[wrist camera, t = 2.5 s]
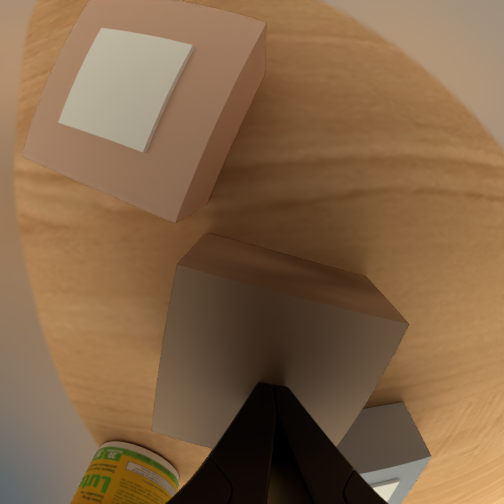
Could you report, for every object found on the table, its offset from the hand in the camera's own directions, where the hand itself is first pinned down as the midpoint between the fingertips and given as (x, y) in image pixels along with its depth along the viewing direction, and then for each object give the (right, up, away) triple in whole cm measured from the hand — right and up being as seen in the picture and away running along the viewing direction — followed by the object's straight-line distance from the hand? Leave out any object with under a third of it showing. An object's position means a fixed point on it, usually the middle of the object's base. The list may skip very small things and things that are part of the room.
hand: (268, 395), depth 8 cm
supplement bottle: (-7, -9, +7) cm, 14 cm away
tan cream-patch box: (-3, +9, +2) cm, 9 cm away
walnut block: (0, +1, +4) cm, 4 cm away
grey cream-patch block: (+5, -6, +5) cm, 9 cm away
